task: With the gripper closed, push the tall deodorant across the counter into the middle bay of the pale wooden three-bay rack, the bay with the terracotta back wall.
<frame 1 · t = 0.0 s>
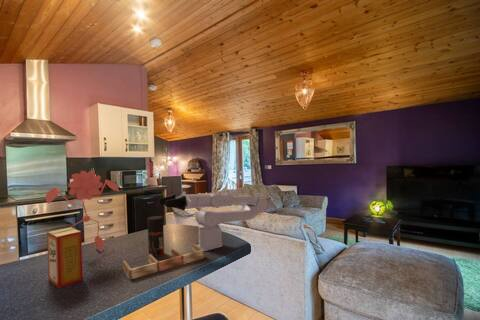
hand: (162, 202, 96), 22 cm above the countertop, tool horizontal, fingers open, 7 cm apart
baking soda box: (65, 280, 80), on the countertop
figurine: (88, 256, 101), on the countertop
deodorant: (156, 255, 100), on the countertop
bay rack: (165, 263, 91), on the countertop
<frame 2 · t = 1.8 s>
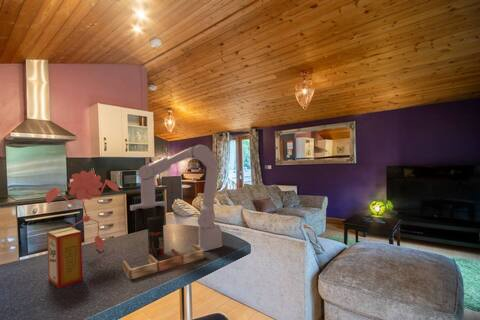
hand: (149, 224, 107), 10 cm above the countertop, tool pointing down, fingers open, 5 cm apart
nothing on the countertop moved.
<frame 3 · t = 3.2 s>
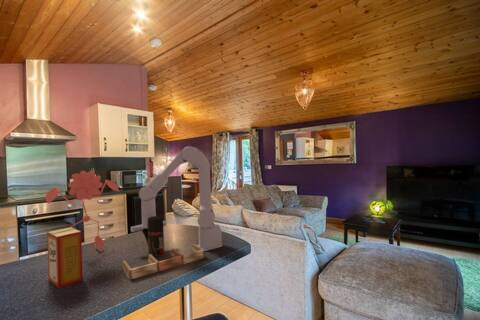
hand: (149, 245, 107), 1 cm above the countertop, tool pointing down, fingers closed
nothing on the countertop moved.
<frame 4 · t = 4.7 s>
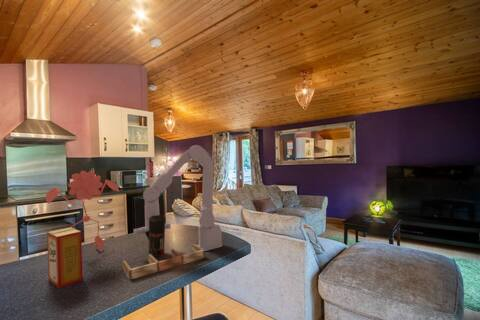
hand: (153, 248, 103), 1 cm above the countertop, tool pointing down, fingers closed, pressing on deodorant
deodorant: (156, 253, 100), on the countertop, touching gripper
everything else where it was.
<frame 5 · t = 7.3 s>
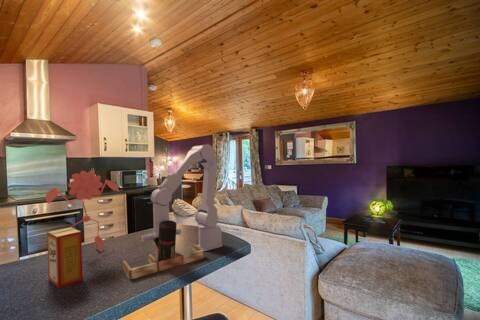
hand: (162, 256, 94), 1 cm above the countertop, tool pointing down, fingers closed, pressing on deodorant
deodorant: (166, 262, 91), point 1 cm above the countertop, touching gripper
everything else where it was.
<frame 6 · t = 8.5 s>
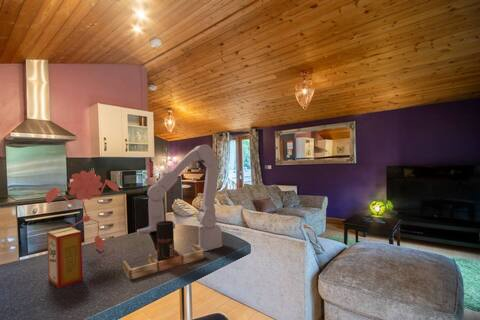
hand: (157, 249, 99), 2 cm above the countertop, tool pointing down, fingers closed
deodorant: (166, 264, 91), resting in bay rack
everything else where it was.
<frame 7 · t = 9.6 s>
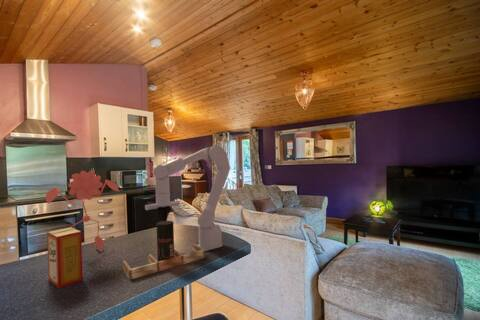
hand: (163, 224, 107), 10 cm above the countertop, tool pointing down, fingers closed
nothing on the countertop moved.
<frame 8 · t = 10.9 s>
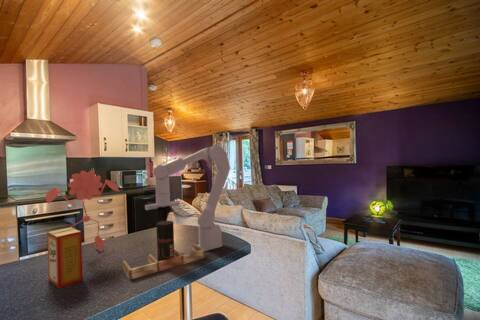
hand: (163, 224, 107), 10 cm above the countertop, tool pointing down, fingers closed
nothing on the countertop moved.
at the end: deodorant 0.8 cm from the target spot, resting in bay rack; deodorant tilted 0° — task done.
